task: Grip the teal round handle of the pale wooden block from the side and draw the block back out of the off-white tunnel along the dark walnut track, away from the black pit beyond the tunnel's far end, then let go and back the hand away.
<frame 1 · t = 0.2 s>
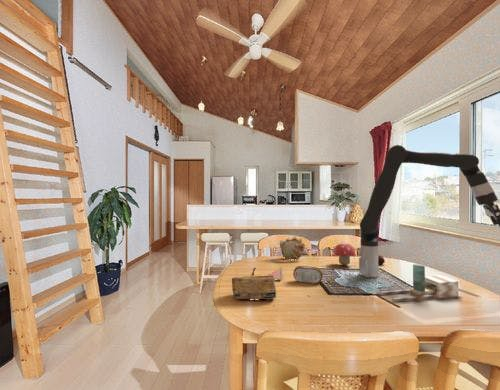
hand: (499, 225, 125), 31 cm above the table, tool tilted 20°, fingers open, 8 cm apart
olive rough rounded lump: (292, 260, 190), on the table
tunnel track: (427, 297, 117), on the table
potato: (377, 264, 178), on the table
tin: (307, 283, 139), on the table
decorative mushroom: (344, 265, 174), on the table
petrified wood: (253, 297, 119), on the table
handled block: (430, 294, 118), point 1 cm above the table, touching tunnel track
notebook: (268, 275, 156), on the table
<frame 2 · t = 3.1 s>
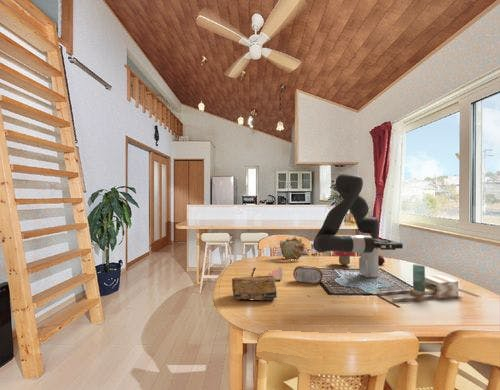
hand: (395, 244, 117), 24 cm above the table, tool horizontal, fingers open, 8 cm apart
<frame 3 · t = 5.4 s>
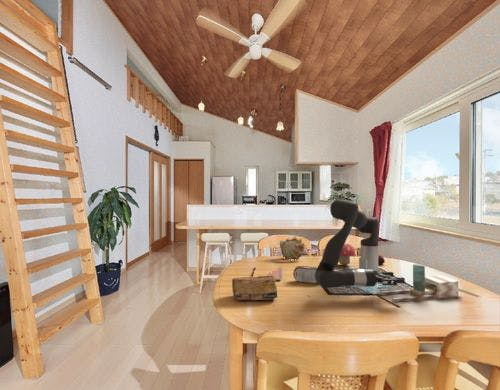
hand: (398, 277, 116), 9 cm above the table, tool horizontal, fingers open, 8 cm apart
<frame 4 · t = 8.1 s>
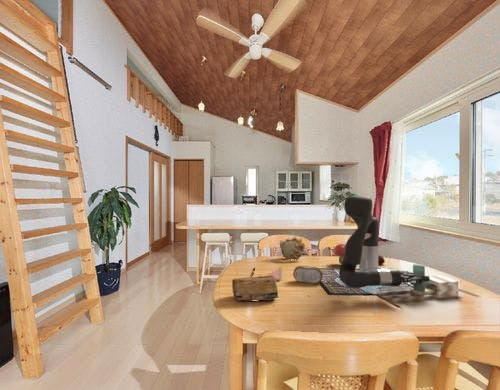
hand: (424, 276, 117), 9 cm above the table, tool horizontal, fingers closed on handled block, 4 cm apart
handled block: (430, 294, 118), point 1 cm above the table, touching gripper, tunnel track
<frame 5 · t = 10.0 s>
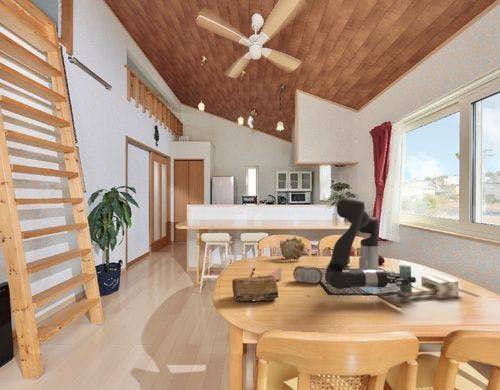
hand: (411, 277, 115), 10 cm above the table, tool horizontal, fingers closed on handled block, 4 cm apart
handled block: (417, 294, 116), point 2 cm above the table, touching gripper
when the fingers open (10 cm above the table, at t = 12.1 s): handled block stays where it is, resting on tunnel track.
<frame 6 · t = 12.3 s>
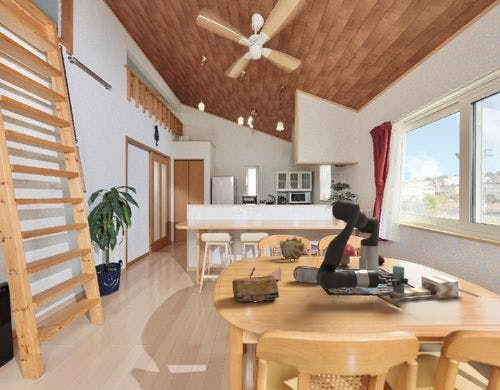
hand: (402, 278, 114), 9 cm above the table, tool horizontal, fingers open, 6 cm apart
handled block: (410, 296, 115), point 1 cm above the table, touching tunnel track
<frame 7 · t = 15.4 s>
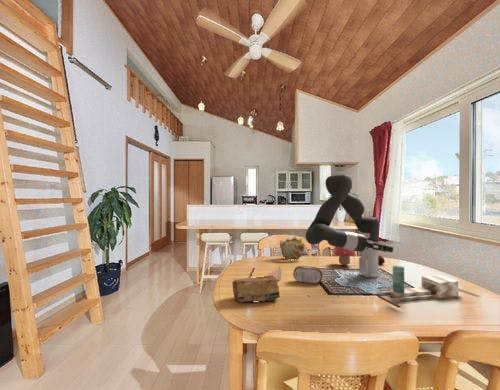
hand: (385, 248, 116), 22 cm above the table, tool horizontal, fingers open, 8 cm apart
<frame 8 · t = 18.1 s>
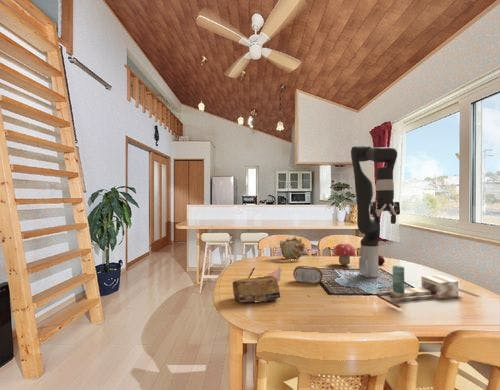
hand: (385, 223, 125), 32 cm above the table, tool pointing down, fingers open, 8 cm apart
at the end: handled block 1.0 cm from the target spot, point 1.5 cm above the table; handled block tilted 0°; the gripper is holding nothing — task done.
